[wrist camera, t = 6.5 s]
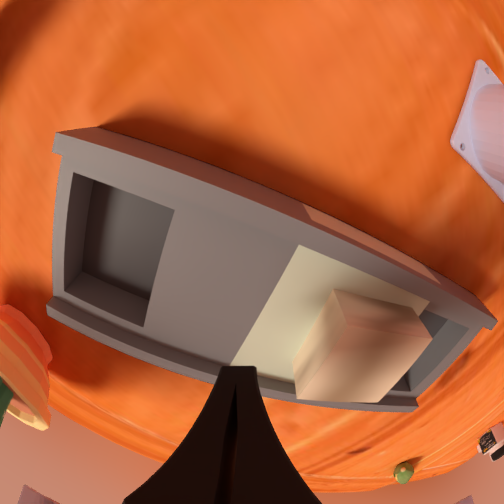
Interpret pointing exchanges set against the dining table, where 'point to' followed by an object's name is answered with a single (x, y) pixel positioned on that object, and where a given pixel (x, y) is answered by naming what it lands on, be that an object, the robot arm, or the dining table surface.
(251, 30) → the dining table surface
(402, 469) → the edible corn
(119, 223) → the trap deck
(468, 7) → the dining table surface
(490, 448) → the medicine bottle
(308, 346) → the birch block
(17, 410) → the potted cactus
